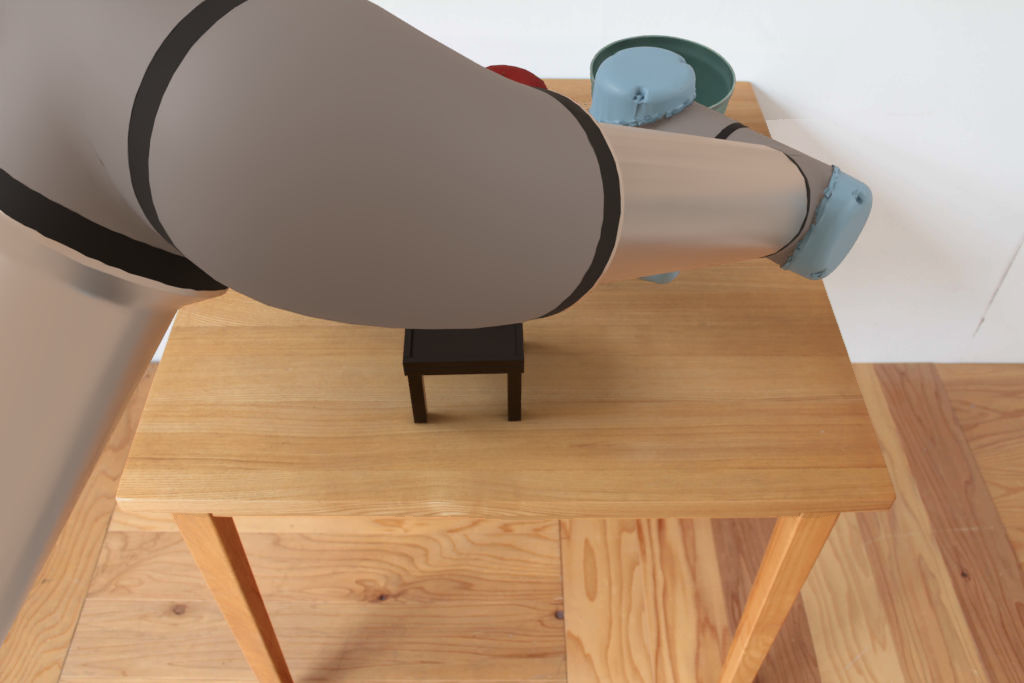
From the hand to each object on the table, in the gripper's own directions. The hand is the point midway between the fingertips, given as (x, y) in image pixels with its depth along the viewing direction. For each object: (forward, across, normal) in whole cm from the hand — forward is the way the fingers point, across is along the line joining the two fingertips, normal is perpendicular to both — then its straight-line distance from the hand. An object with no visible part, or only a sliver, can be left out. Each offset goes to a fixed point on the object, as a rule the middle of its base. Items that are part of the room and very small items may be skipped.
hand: (319, 123), depth 84 cm
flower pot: (-25, +29, -14) cm, 40 cm away
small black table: (-23, -12, -13) cm, 30 cm away
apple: (-10, +19, -14) cm, 26 cm away
